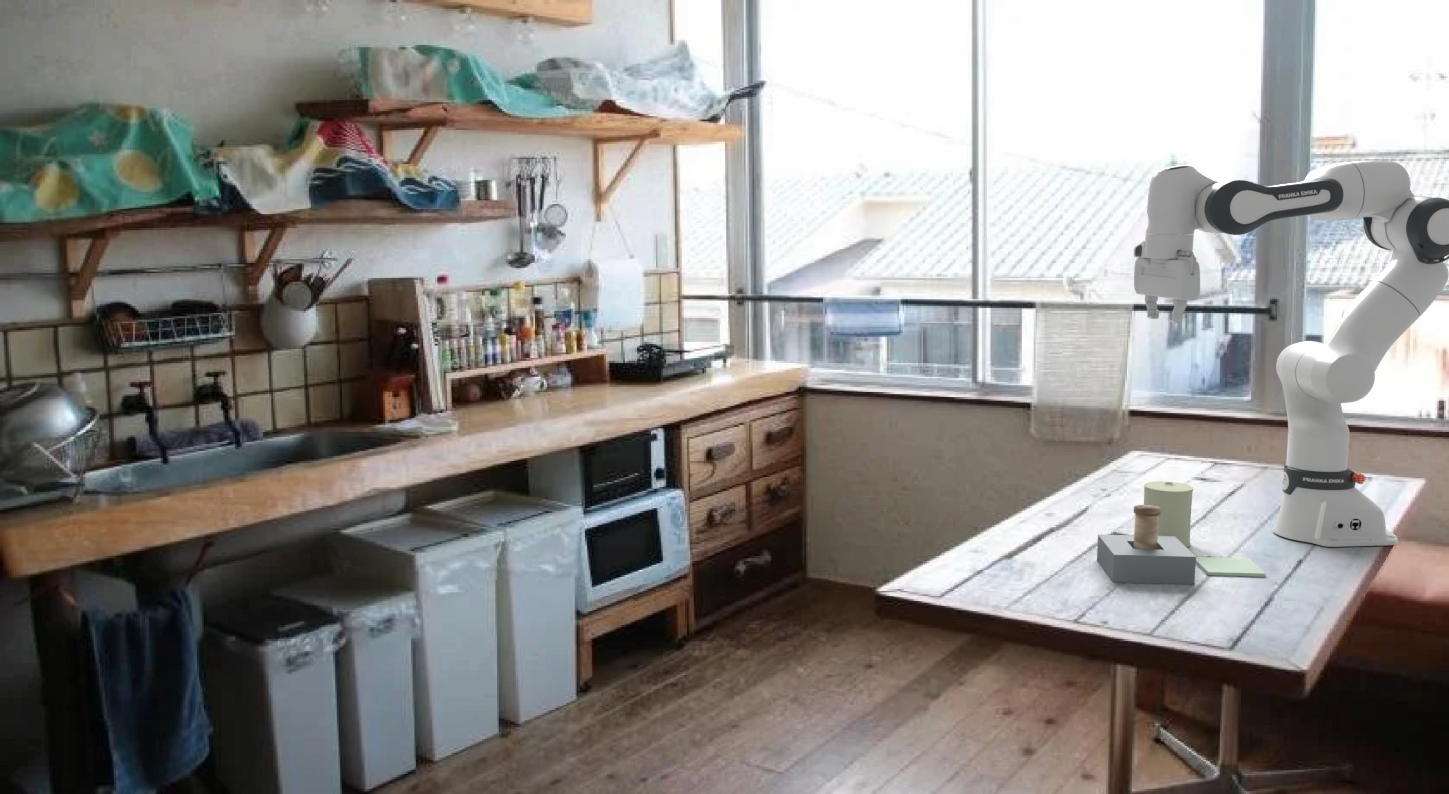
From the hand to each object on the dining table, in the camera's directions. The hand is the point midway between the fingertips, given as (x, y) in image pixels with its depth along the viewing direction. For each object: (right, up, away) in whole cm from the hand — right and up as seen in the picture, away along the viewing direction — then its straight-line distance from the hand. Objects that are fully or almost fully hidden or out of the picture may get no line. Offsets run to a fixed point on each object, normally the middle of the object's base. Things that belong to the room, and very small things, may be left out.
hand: (1164, 320), depth 239 cm
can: (+1, -44, +3) cm, 44 cm away
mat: (+6, -47, -15) cm, 49 cm away
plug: (-10, -47, -17) cm, 51 cm away
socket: (-10, -47, -17) cm, 51 cm away
